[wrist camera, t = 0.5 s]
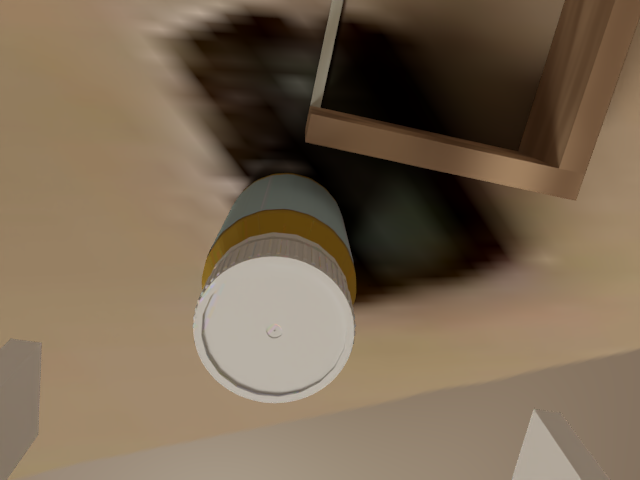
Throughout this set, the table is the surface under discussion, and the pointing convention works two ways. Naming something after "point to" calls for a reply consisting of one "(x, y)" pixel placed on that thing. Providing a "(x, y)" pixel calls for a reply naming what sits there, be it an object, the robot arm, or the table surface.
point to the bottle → (278, 293)
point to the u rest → (544, 120)
